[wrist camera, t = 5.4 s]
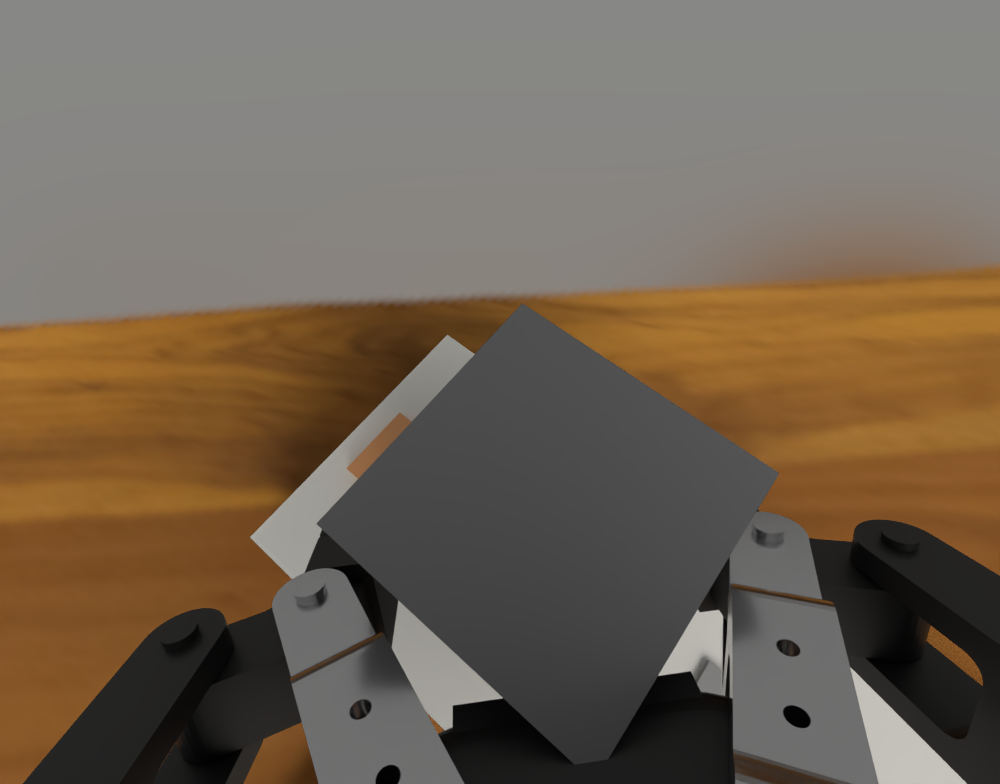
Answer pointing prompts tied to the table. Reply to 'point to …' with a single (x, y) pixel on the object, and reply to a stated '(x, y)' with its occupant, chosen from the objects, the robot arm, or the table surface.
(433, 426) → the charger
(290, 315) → the table surface
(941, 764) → the power strip
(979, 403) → the table surface
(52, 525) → the table surface
